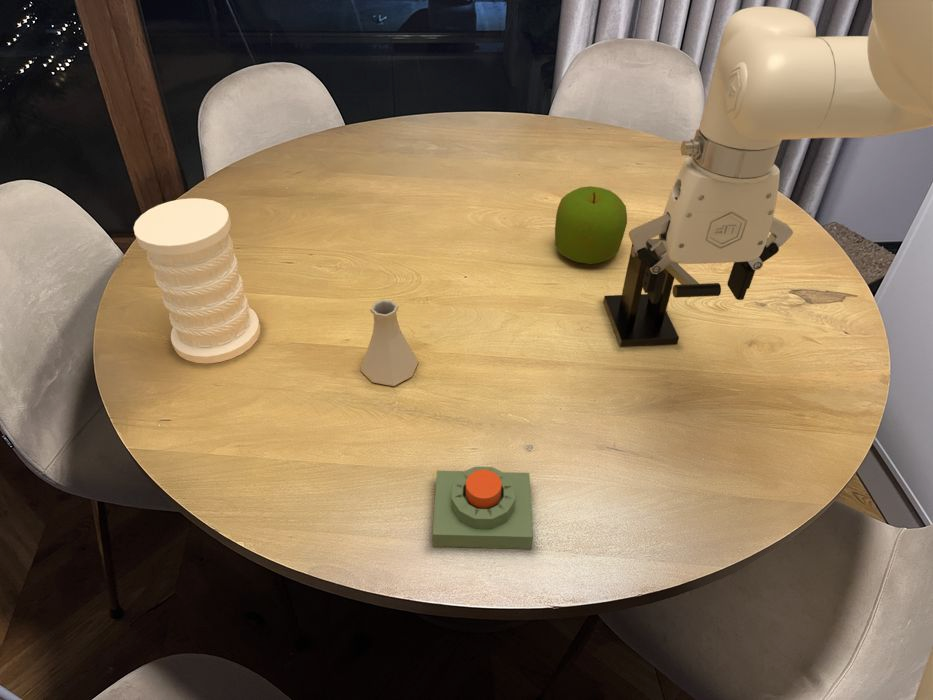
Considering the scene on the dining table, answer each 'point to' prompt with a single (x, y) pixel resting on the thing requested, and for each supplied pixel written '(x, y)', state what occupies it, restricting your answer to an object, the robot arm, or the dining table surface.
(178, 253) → the decorative container
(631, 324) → the switch bracket
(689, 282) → the lever
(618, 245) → the apple
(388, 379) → the flask
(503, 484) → the button block
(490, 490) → the stop button
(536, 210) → the dining table surface
